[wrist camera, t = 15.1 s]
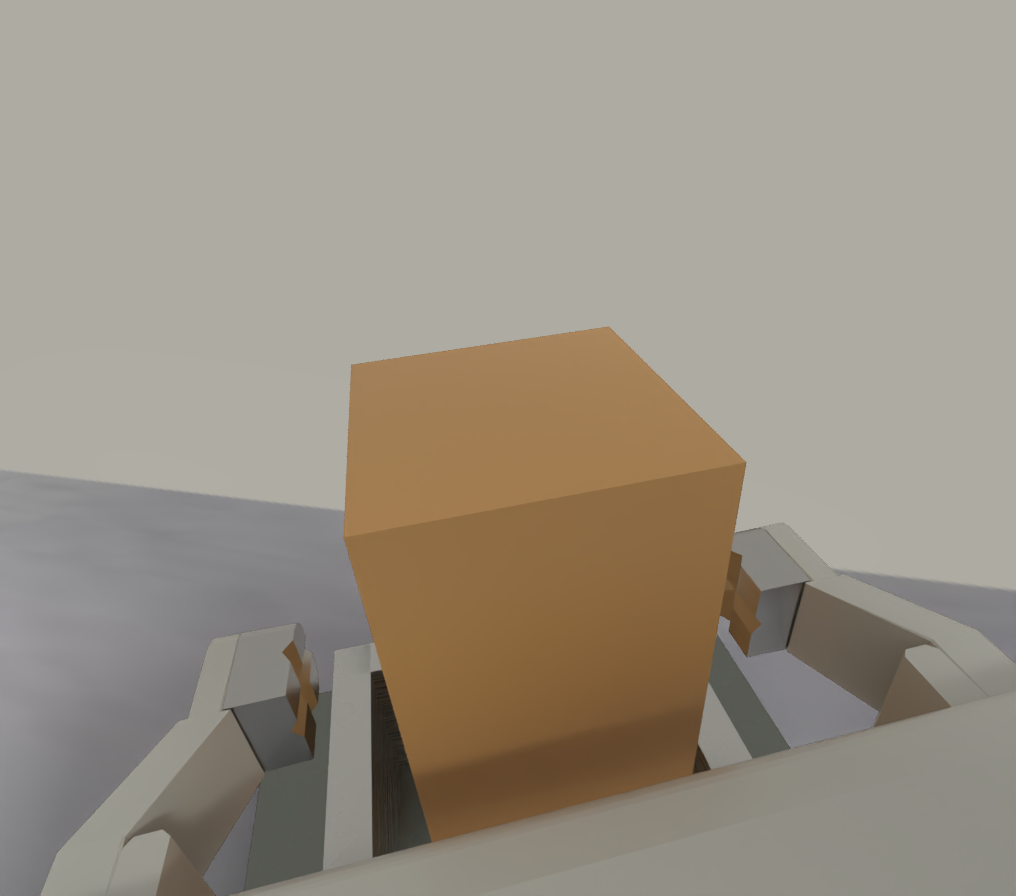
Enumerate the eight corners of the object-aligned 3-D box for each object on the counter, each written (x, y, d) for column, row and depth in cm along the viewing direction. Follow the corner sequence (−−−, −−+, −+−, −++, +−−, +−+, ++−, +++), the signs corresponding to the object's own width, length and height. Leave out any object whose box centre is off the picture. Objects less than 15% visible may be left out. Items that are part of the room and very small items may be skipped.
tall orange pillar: (600, 766, 18) (608, 326, 10) (662, 946, 14) (746, 462, 7) (453, 803, 17) (351, 364, 10) (478, 1002, 14) (344, 537, 6)
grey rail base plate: (1026, 1180, 12) (1189, 1107, 9) (186, 1506, 10) (-11, 1566, 7) (697, 636, 24) (715, 518, 20) (283, 729, 21) (230, 614, 18)
